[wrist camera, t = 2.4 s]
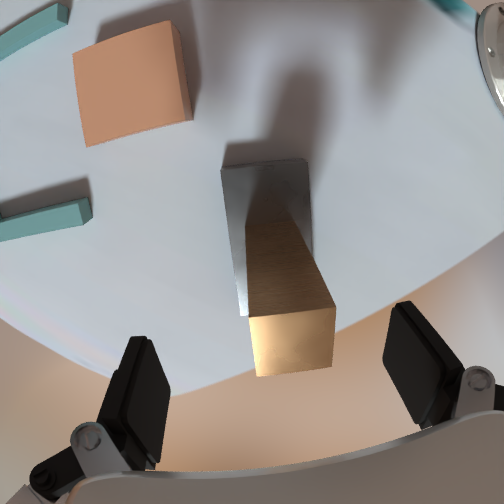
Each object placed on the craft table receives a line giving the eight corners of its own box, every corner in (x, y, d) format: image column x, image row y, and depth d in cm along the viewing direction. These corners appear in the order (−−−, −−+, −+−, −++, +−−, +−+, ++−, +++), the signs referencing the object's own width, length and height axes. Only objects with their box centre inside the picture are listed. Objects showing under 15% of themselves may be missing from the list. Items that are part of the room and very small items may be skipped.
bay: (67, 8, 12) (57, 2, 11) (92, 217, 19) (83, 225, 18) (-29, 66, 13) (-40, 66, 11) (-3, 238, 19) (-13, 245, 18)
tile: (180, 33, 15) (170, 19, 12) (194, 120, 17) (185, 120, 14) (94, 60, 15) (72, 53, 12) (107, 142, 17) (86, 147, 15)
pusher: (222, 166, 18) (200, 221, 9) (302, 158, 18) (369, 205, 9) (240, 303, 22) (242, 424, 13) (307, 295, 22) (345, 410, 13)
